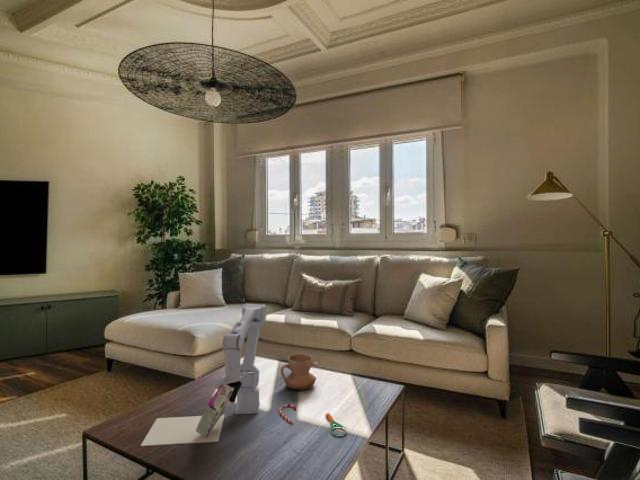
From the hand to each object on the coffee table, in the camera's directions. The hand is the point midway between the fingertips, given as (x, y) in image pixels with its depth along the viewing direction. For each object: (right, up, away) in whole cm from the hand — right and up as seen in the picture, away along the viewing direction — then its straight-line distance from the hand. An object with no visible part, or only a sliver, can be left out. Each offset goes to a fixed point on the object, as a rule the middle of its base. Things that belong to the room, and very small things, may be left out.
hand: (232, 401), depth 134 cm
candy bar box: (-8, -7, -1) cm, 11 cm away
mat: (-17, -10, -1) cm, 20 cm away
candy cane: (+21, -11, +12) cm, 26 cm away
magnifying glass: (+39, -12, +4) cm, 41 cm away
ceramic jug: (+23, -10, +38) cm, 46 cm away
